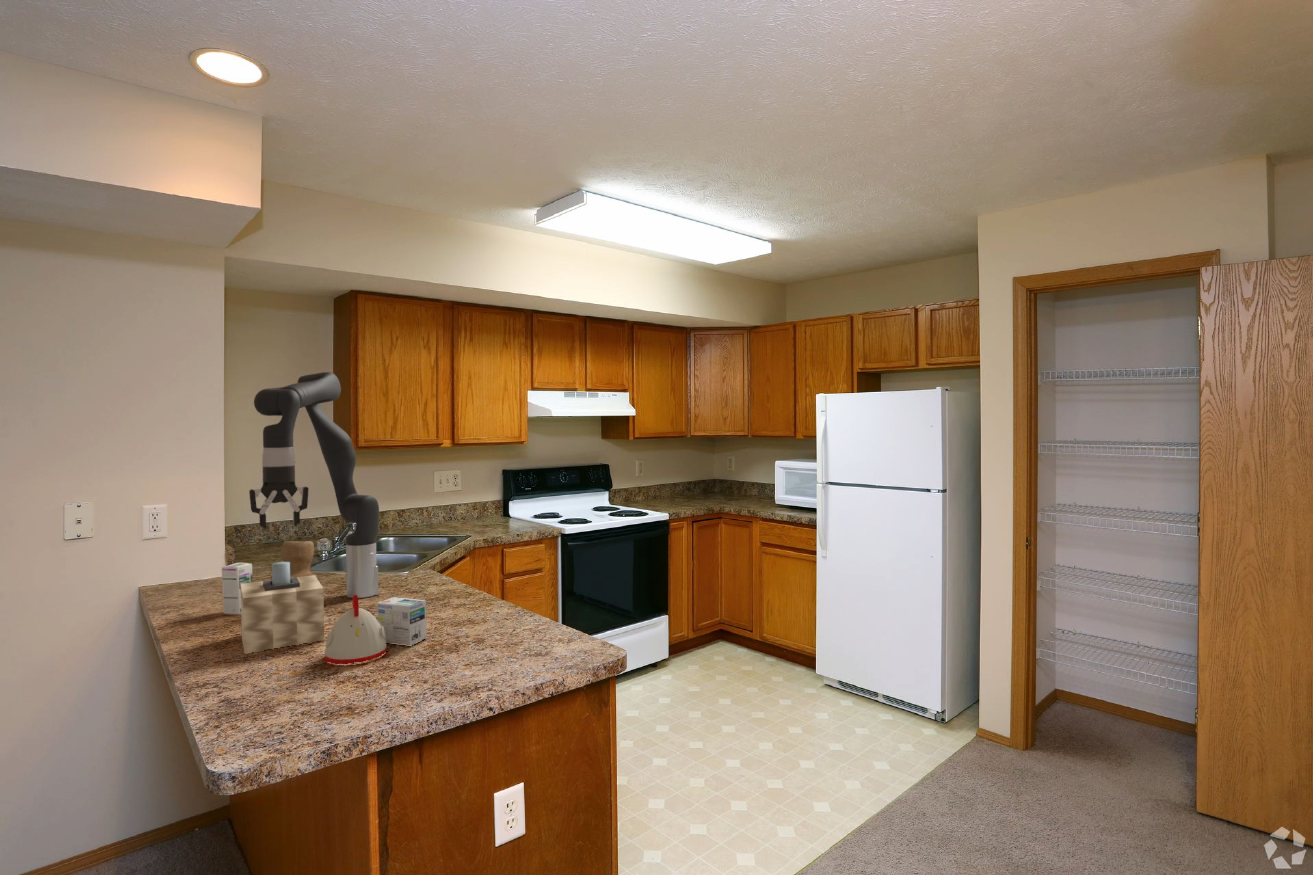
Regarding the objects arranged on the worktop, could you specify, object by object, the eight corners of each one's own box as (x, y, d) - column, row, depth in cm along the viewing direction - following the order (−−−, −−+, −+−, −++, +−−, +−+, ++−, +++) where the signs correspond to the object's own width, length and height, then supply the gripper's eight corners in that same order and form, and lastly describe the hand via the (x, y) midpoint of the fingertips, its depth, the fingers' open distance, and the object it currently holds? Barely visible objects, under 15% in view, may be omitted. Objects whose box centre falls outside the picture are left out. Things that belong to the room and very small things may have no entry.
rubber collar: (296, 580, 186) (296, 577, 186) (299, 586, 179) (299, 582, 179) (263, 584, 182) (263, 581, 182) (265, 591, 175) (265, 587, 175)
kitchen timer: (325, 670, 158) (324, 606, 157) (324, 652, 170) (323, 592, 169) (389, 660, 164) (388, 598, 164) (383, 643, 176) (382, 586, 176)
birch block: (315, 623, 193) (314, 575, 193) (324, 640, 178) (323, 587, 178) (241, 634, 184) (240, 583, 183) (244, 653, 169) (243, 598, 168)
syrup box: (239, 614, 203) (238, 566, 202) (222, 613, 204) (221, 565, 204) (254, 609, 208) (253, 562, 208) (237, 608, 210) (236, 562, 209)
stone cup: (316, 576, 253) (315, 536, 253) (318, 582, 243) (317, 541, 243) (269, 581, 246) (268, 540, 245) (269, 588, 235) (269, 545, 235)
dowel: (289, 605, 184) (289, 561, 183) (291, 608, 180) (290, 563, 180) (272, 607, 181) (271, 562, 181) (273, 611, 178) (272, 565, 178)
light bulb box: (427, 639, 179) (427, 599, 179) (410, 647, 173) (410, 605, 172) (394, 635, 183) (393, 595, 182) (376, 643, 176) (375, 602, 176)
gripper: (307, 462, 187) (308, 522, 187) (246, 464, 179) (247, 527, 179) (310, 464, 181) (311, 526, 181) (247, 466, 173) (249, 531, 173)
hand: (279, 526), depth 180 cm, fingers open, 6 cm apart
